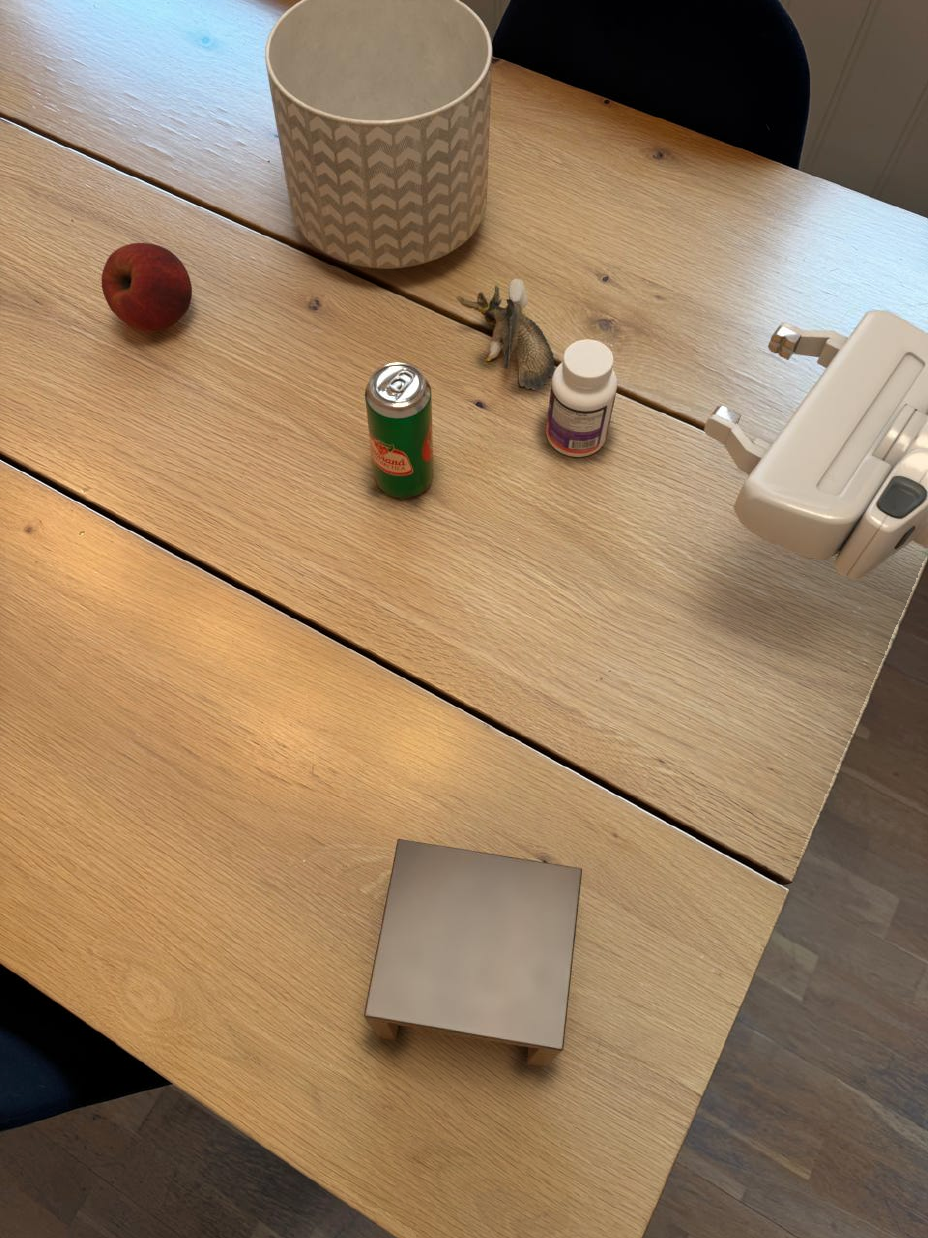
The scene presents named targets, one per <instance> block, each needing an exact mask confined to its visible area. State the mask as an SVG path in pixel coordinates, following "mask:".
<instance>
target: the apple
mask: <svg viewBox="0 0 928 1238" xmlns="http://www.w3.org/2000/svg"><path fill="white" fill-rule="evenodd" d="M101 288H102V293H103V297H104V298H105V301H106V303H107V305H108V307H109V308H110V310H111V311H112V312H113V314H114V315H115V316H116V318H118V319H119V320H120V321H121V322H123V323H124V324H125V325H127V326H129V328H132V329H134V330H138V331H141V332H144V333H159V332H161V331H164V330H167V329H169V328H171V327H173V326H174V325H176V324H177V323H178V322H180V320H182V318H183V317H184V316H185V315H186V314H187V311H188V310H189V307H190V305H191V302H192V296H193V286H192V281H191V279H190V275H189V273H188V270H187V268H186V266H185V265H184V264H183V262H182V261H181V260H180V258H178V256H177V255H175V253H173V252H172V251H171V250H169V249H167V248H166V247H164V246H161V245H159V244H155V243H148V242H133V243H129V244H125V245H123V246H121V247H119V248H117V249H115V250H114V251H112V253H111V254H110V255H109V256H108V258H107V260H106V261H105V264H104V266H103V269H102V273H101Z"/></svg>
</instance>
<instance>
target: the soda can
mask: <svg viewBox="0 0 928 1238" xmlns="http://www.w3.org/2000/svg"><path fill="white" fill-rule="evenodd" d="M432 397H433V396H432V387H431V385H430V383H429V381H428V380H427V378H426V377H425V374H424V373H423V372H422V371H421V370H420V369H419V368H417V366H415V365H413V364H411V363H407V362H401V361H397V362H396V361H394V362H389V363H386V364H383V365H381V366H379V367H378V368H377V369H376V370H374V371H373V373H372V374H371V375H370V378H369V381H368V383H367V384H366V387H365V391H364V401H365V409H366V418H367V426H368V434H369V436H368V437H369V442H370V451H371V460H372V469H373V477H374V481H375V484H376V485H377V487H378V488H379V489H380V490H381V491H382V492H383V493H385V494H387V495H389V496H390V497H394V498H399V499H403V498H404V499H405V498H412V497H415V496H418V495H420V494H422V493H423V492H425V491H426V490H427V489H428V488H429V486H430V485H431V484H432V482H433V479H434V473H435V471H434V442H433V441H434V437H433V436H434V435H433V401H432V399H433V398H432Z"/></svg>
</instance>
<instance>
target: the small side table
mask: <svg viewBox="0 0 928 1238" xmlns="http://www.w3.org/2000/svg"><path fill="white" fill-rule="evenodd" d="M582 876H583V869H582V868H581V867H575V866H570V865H563V864H558V863H551V862H545V861H538V860H532V859H528V858H519V857H514V856H508V855H501V854H496V853H489V852H484V851H483V852H482V851H477V850H470V849H464V848H459V847H452V846H445V845H439V844H434V843H426V842H420V841H414V840H408V839H400V838H398V839H397V841H396V846H395V851H394V857H393V862H392V866H391V873H390V876H389V877H390V878H389V882H388V887H387V888H388V889H387V892H386V898H385V904H384V908H383V914H382V919H381V924H380V930H379V934H378V940H377V945H376V950H375V955H374V961H373V965H372V971H371V976H370V981H369V986H368V992H367V997H366V1003H365V1007H364V1011H363V1012H364V1013H363V1017H364V1018H365V1020H366V1021H367V1023H368V1025H369V1026H370V1027H371V1029H372V1030H373V1032H374V1034H375V1035H376V1036H377V1038H380V1039H385V1040H392V1041H396V1040H397V1036H398V1030H399V1026H402V1027H408V1028H414V1029H419V1030H426V1031H432V1032H436V1033H437V1032H438V1033H443V1034H449V1035H455V1036H460V1037H466V1038H471V1039H478V1040H485V1041H489V1042H495V1043H501V1044H507V1045H513V1046H519V1047H523V1048H527V1057H526V1064H528V1065H534V1066H541V1067H545V1066H547V1065H548V1064H549V1063H550V1062H551V1061H552V1060H554V1059H556V1057H557V1056H558V1055H560V1054H561V1053H562V1052H563V1050H564V1045H565V1038H566V1037H565V1035H566V1027H567V1020H568V1019H567V1017H568V1007H569V1000H570V999H569V998H570V989H571V981H572V972H573V971H572V970H573V961H574V952H575V944H576V943H575V942H576V935H577V933H576V932H577V925H578V923H577V922H578V913H579V903H580V897H581V896H580V894H581V885H582Z"/></svg>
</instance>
